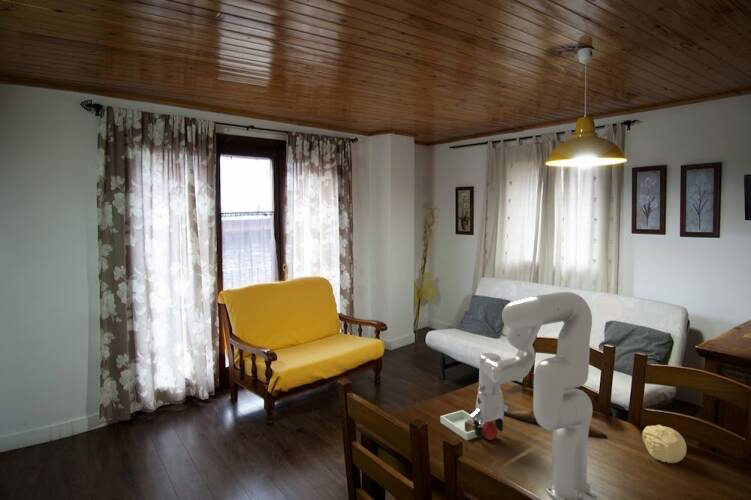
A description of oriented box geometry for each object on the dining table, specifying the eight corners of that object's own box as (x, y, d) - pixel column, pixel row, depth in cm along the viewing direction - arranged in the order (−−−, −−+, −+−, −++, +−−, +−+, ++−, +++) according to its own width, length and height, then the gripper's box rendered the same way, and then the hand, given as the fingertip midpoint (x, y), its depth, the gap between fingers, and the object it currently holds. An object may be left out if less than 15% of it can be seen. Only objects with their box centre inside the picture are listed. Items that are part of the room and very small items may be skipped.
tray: (489, 434, 170) (489, 426, 170) (466, 442, 165) (466, 433, 165) (462, 417, 184) (462, 409, 184) (440, 424, 179) (440, 416, 179)
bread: (502, 418, 184) (502, 406, 184) (505, 413, 189) (506, 401, 188) (607, 442, 165) (607, 429, 164) (608, 436, 169) (608, 423, 168)
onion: (479, 442, 165) (479, 421, 164) (483, 435, 170) (483, 414, 170) (495, 445, 162) (495, 424, 162) (499, 438, 168) (499, 417, 167)
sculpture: (636, 452, 157) (637, 422, 156) (661, 446, 161) (662, 416, 160) (667, 470, 146) (669, 438, 145) (693, 462, 150) (695, 431, 149)
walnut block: (479, 432, 170) (480, 422, 170) (473, 436, 168) (473, 425, 168) (471, 428, 174) (471, 418, 173) (464, 432, 171) (464, 421, 171)
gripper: (478, 396, 157) (477, 443, 159) (514, 386, 165) (513, 431, 167) (464, 389, 164) (463, 434, 166) (500, 379, 172) (499, 423, 174)
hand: (488, 432), depth 166 cm, fingers open, 9 cm apart
